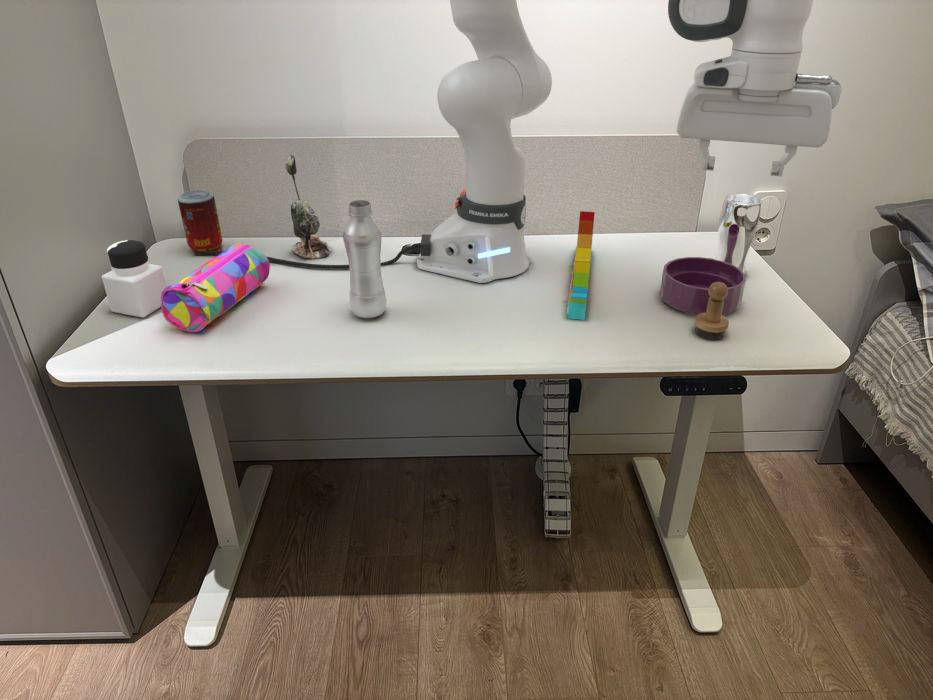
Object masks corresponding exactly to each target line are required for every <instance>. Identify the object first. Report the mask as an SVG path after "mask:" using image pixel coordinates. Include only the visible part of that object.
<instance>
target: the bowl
mask: <svg viewBox="0 0 933 700" xmlns="http://www.w3.org/2000/svg"><path fill="white" fill-rule="evenodd" d="M715 282H722V283H724V284H725V285H726V286H727V288H728V294H727V296H726V297H725V298H724V304H723V309H722V314H721V315H722V316H723V315H727V314H731V313H733V312H735V311H737V310H738V309H739V307H740V306H741V303H742V300H743V295H744V290H745V287H746V282H747V275H746V274H744V273H743V271H742V270H740V269H739V268H737V267H736V266H734V265H732V264H729V263H726V262H724V261H720V260H716V259H715V258H710V257H702V256H686V257H685V256H684V257H678V258H674V259H672V260H669V261H668V262H666V263H665V264H664V265H663V270H662V276H661V281H660V290H659V296H660V298H661V300H662V301H663V302H664V303H665V304H667V305H669V307H672V308H674V309H676V310H678V311H679V312H683V313H686V314H690V315H696V316H697V315H698V314H701V313H706V310H707V305H708V300H709V298H710V296H709V293H708V290H709V287H710V286H711V285H712V284H713V283H715Z"/></svg>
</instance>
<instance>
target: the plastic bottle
mask: <svg viewBox="0 0 933 700" xmlns="http://www.w3.org/2000/svg"><path fill="white" fill-rule="evenodd" d="M372 215H373V210H372V203H371V201H369V200H365V199H356V200H352V201H350V202H349V203H348V216H349V217H350V218H349V219H348V221H347V223H346V225H345V227H344V229H343V231H342V239H343V243H344V248H345V252H346V255H347V261H348V265H349V268H348V269H349V295H348V296H349V297H348V299H349V300H348V302H349V306H350V310H351V312H352V313H353V314H354V315H355V316H357V317H359V318H362V319H371V318H372V319H373V318H376V317H377V318H378V317H379V316H381V315H382V314H384V312H385V310H386V308H387V302H388V299H387V295H386V290H385V288H384V282H383V276H382V269H381V268H382V266H381V265H380V263H382V262H381V261H382V260H381V254H382V253H381V251H382V231H381V228H380V227H379V225H378V224H377V222H376V221H375V219H373V218H372Z"/></svg>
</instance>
